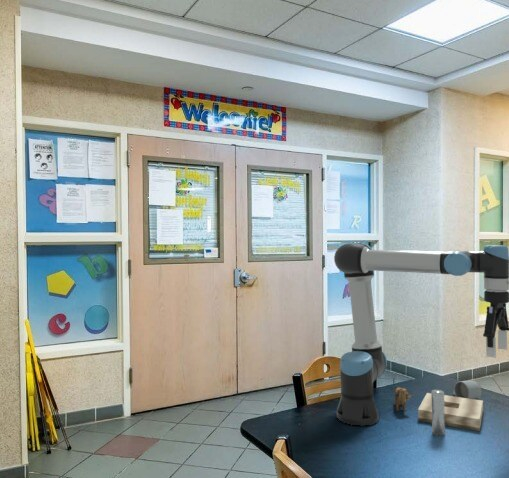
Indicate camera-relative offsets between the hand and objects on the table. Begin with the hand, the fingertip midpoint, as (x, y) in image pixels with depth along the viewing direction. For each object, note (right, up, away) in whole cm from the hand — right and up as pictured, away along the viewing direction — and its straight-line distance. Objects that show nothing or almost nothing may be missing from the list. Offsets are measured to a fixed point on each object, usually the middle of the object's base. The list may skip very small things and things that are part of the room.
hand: (497, 352), depth 154 cm
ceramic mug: (+4, -27, +31) cm, 41 cm away
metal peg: (-20, -27, -1) cm, 34 cm away
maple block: (-10, -27, +13) cm, 31 cm away
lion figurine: (-25, -27, +23) cm, 44 cm away
